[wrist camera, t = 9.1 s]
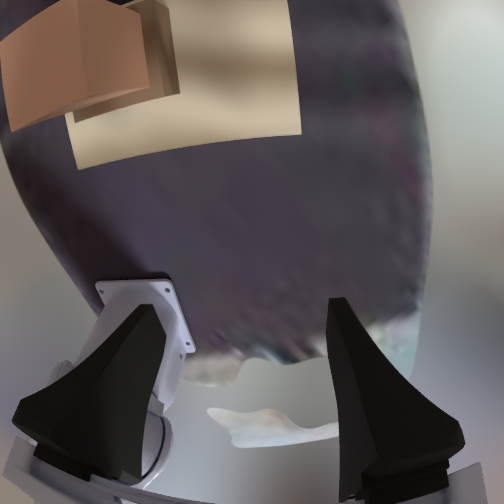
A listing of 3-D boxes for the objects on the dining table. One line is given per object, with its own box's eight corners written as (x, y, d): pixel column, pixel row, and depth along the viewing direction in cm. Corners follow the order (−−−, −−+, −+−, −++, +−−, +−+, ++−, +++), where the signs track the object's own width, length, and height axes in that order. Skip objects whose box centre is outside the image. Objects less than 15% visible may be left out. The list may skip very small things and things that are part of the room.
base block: (180, 93, 16) (164, 96, 13) (99, 115, 16) (74, 123, 14) (169, 8, 12) (151, -2, 10) (87, 38, 13) (61, 35, 10)
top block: (150, 87, 13) (88, 96, 8) (82, 108, 13) (11, 132, 8) (140, 13, 10) (77, -10, 5) (72, 41, 11) (-1, 42, 6)
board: (300, 132, 17) (301, 134, 17) (82, 167, 19) (78, 170, 18) (282, -25, 11) (282, -28, 11) (58, 37, 13) (53, 37, 12)
